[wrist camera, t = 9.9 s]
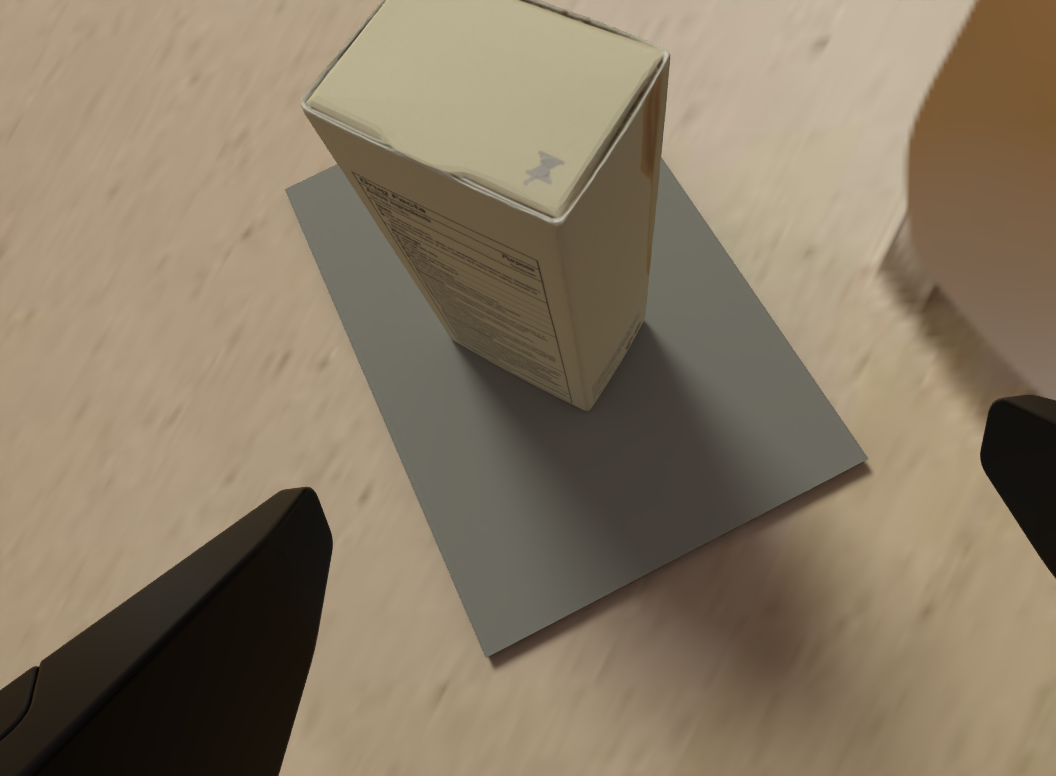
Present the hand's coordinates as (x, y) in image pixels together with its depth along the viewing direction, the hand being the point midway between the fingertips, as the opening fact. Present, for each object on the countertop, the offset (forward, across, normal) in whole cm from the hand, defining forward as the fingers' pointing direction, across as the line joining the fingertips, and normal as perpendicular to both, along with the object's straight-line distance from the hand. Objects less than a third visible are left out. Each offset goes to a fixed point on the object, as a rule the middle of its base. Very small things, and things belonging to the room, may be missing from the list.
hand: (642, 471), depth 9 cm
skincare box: (+15, +2, +4) cm, 16 cm away
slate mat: (+16, +2, +4) cm, 16 cm away
